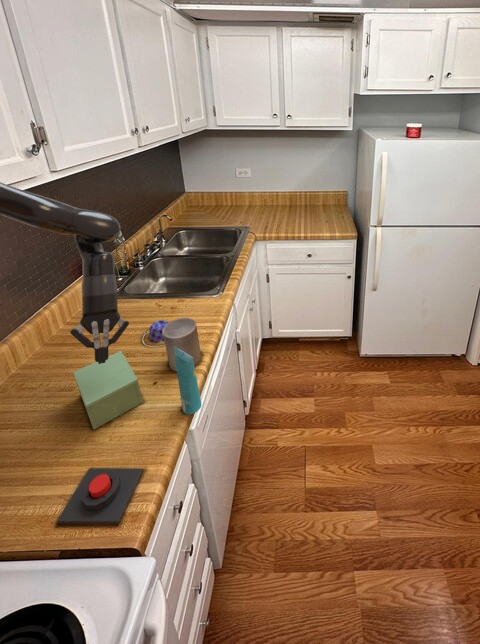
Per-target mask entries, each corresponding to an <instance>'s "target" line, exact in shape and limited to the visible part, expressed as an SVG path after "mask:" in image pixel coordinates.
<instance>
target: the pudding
mask: <svg viewBox="0 0 480 644" xmlns="http://www.w3.org/2000/svg"><path fill="white" fill-rule="evenodd" d="M168 323H169V321H167V320H165V319H160V320H157V321H154V322H153V323H152V324H151V325H150V326H149V330H148V339H149V342H151V343H156V344H158V343H161V342H165V341H164V336H163V333H162V331H163V329H164V327H165V326H166V325H167V324H168ZM145 335H146V334H144V335H143V336H142V343H143V344H144V345H145V346H147V347H149V348H150V347H152V348H156V347H159V345H157V346H153V345H152V346H151V345H147V344H146V343H145V342H144V337H145ZM162 346H164V344H163V345H160V347H162Z"/></svg>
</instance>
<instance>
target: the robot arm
mask: <svg viewBox="0 0 480 644" xmlns="http://www.w3.org/2000/svg"><path fill="white" fill-rule="evenodd" d="M0 216H2V217H5V218H8V219H11V220H13V221H16V222H18V223H21V224H24V225H27V226H29V227H33V228H36V229H39V230H43V231H47V232H51V233H55V234H59V235H65V236H70V235H74V240H75V243H76V246H77V249H78V252H79V255H80V258H81V260H82V281H81V305H82V307H81V310H82V313H81V314H82V315H81V316H82V317H81V319H80V321H79V324H78V325H77V326H75V327H74V328H72V329H71V330H70V332H69V333H70V334H71V335H72V336H73V337H74V338H75V339H76V340H77V341H78V342H79V343H80V344H82V345H83V346H84V347H85V348H88V349H89V348H90V349H93V350H94V361H95V362H98V364H101V363H105V360H108V357H109V356H110V354H109V346H111V345H112V344H115V343H117V341H118V340H119V339H120V337H121V336H122V334H123V333H124V332H125V330H126V329H127V328H128V326H129V325H130V322H129V320H126V319H124V318H122V317H121V314H120V313H119V309H118V282H117V276H116V258H115V255H114V253H112V252H109V251H105V249H104V247H103V244H102V243H109V242H112V241H114V240H116V239H117V238H118V237H119V236H120V234H121V232H122V227H121V223H120V222H119V221H118V219H117V218H116V217H114V216H112V215H110V214H108V213H105V212H101V211H96V210H90V209H84V208H79V207H75V206H72V205H70V204H67V203H64V202H61V201H59V200H57V199H52V198H49V197H46V196H42V195H39V194H35V193H34V192H30V191H26V190H23V189H21V188H18V187H14V186H13V185H8V184H6V183H3V182H0ZM116 325H117V327H118V328H117V330H116V331H115V333H114V334H113V335H112V337H111V338H110V333H111V331H113V329H114V328H115V327H116ZM84 329H85V330H86V332H88V333H89V334H90V335H92V339H93V341H91V340H90V339H89V338H88V337H87V336H86V335H85V334H84ZM100 334H102V345H101V335H100Z"/></svg>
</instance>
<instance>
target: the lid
mask: <svg viewBox="0 0 480 644" xmlns="http://www.w3.org/2000/svg"><path fill="white" fill-rule="evenodd" d="M72 373H73V377H74V376H75V377H74V380H75V379H76V380H75V382H76V385H77V388H78V387H79V388H78V391H79V390H80V391H79V394H80V393H81V394H80V396H81V395H82V397H81V399H82V398H83V400H82V402H83V401H84V403H85V405H84V407H85V406H86V408H87V407H89V406H91V405H93V404H95V403H97V402H99V401H101V400H103V399H105V398H107V397H109V396H111V395H112V394H114V393H116V392H118V391H120V390H122V389H124V388H126V387H128V386H130V385H132V384H134V383H136V382H138V383H139V379H138V377H137V375H136V374H135V372H134V370H133V368H132V367H131V365H130V364H129V361H128V359H127V358H126V357H125V355H124V353H123V352H122V350H119V351H117V352H115V353H112V354H111V355H110V354H109V357H108V360H105V363H101V364H98V362H96V361H95V362H92V363H90V364H87V365H86V366H83V367H81V368H79V369H77V370H74V371H73V372H72ZM84 403H83V404H84ZM86 408H85V409H86Z"/></svg>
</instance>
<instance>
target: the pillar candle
mask: <svg viewBox="0 0 480 644" xmlns="http://www.w3.org/2000/svg"><path fill="white" fill-rule="evenodd" d="M162 333H163V336H164V341H163V342H164V346H165V351H166V355H167V361H168V365H169V368H170V370H172V371H174V372H177V369H176V362H175V354H174V347H176V348H178V349H180V350H181V351H183V352H185V353H186V354H188V355H190V356H191V357H193V363H194V368H196V367H197V366H199V364H200V363H201V361H202V352H201V346H200V345H201V344H200V340H199V338H200V337H199V332H198V327H197V322H196V321H195V320H194V319H192V318H189V317H181V318H180V317H179V318H176V319H174V320H171V321H169V322H168V324H167V325H166V326H165V327H164V329H163V331H162Z"/></svg>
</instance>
